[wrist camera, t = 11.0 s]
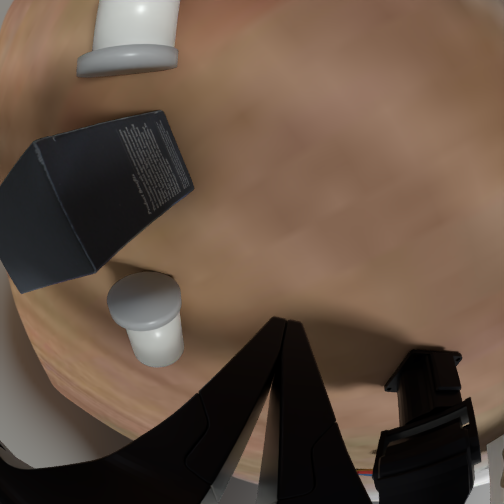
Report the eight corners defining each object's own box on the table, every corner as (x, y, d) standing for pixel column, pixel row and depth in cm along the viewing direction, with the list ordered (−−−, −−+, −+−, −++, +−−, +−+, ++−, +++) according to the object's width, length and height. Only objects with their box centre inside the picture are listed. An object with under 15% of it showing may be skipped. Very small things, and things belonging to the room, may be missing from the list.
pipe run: (196, 337, 26) (171, 385, 21) (144, 320, 27) (115, 361, 22) (204, -22, 10) (157, -58, 5) (129, -5, 11) (71, -21, 6)
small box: (104, 230, 22) (20, 299, 13) (74, 165, 20) (-23, 216, 11) (199, 193, 18) (96, 282, 9) (164, 106, 16) (28, 133, 7)
